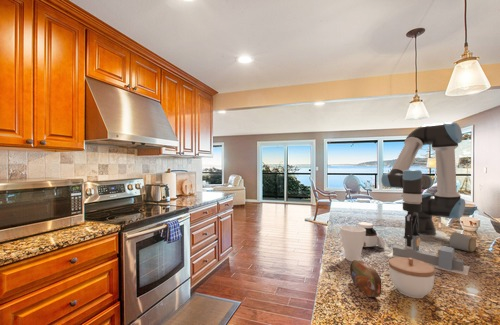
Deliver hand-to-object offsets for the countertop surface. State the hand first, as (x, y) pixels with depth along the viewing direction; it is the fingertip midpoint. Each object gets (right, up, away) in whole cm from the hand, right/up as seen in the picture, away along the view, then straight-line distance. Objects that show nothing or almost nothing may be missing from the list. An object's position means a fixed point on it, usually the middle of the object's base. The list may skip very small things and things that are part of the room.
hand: (411, 251), depth 115 cm
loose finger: (0, -1, 0) cm, 1 cm away
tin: (-38, -1, -34) cm, 51 cm away
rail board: (-1, -1, -11) cm, 11 cm away
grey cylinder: (+28, -1, +4) cm, 28 cm away
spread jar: (-16, -1, +8) cm, 18 cm away
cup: (-31, -1, -8) cm, 32 cm away
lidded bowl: (-24, -1, -35) cm, 43 cm away
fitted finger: (+3, 0, -17) cm, 17 cm away
